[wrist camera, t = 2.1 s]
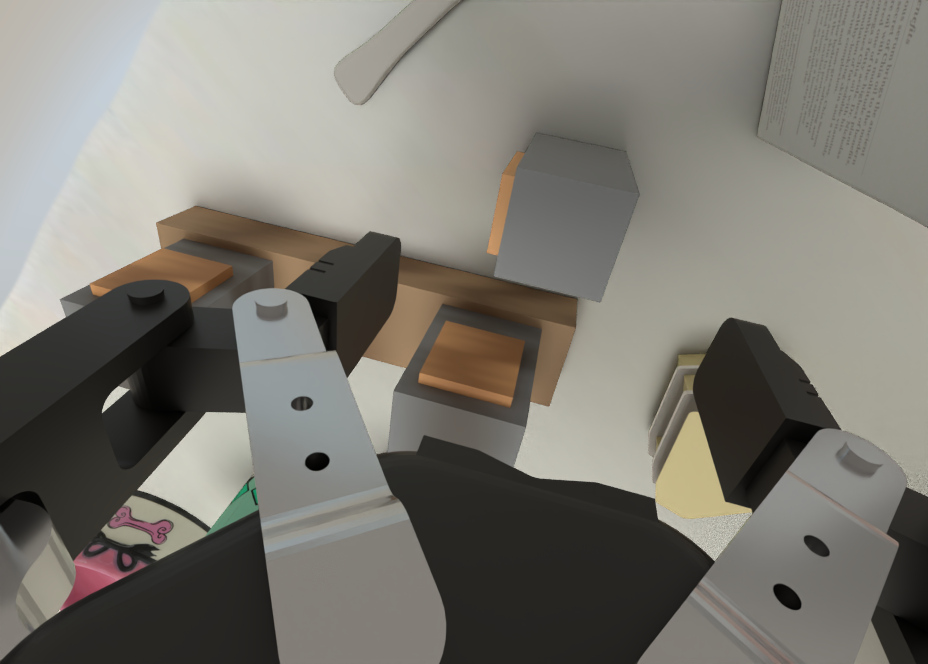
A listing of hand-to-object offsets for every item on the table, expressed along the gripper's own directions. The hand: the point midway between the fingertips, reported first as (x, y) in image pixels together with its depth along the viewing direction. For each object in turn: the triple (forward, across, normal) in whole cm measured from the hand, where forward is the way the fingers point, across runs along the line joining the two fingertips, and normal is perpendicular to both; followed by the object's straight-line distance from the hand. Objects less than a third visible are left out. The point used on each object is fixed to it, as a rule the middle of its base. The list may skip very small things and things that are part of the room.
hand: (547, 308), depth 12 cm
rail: (+12, +9, +8) cm, 17 cm away
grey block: (+12, 0, 0) cm, 12 cm away
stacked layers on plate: (+13, -10, +10) cm, 19 cm away
